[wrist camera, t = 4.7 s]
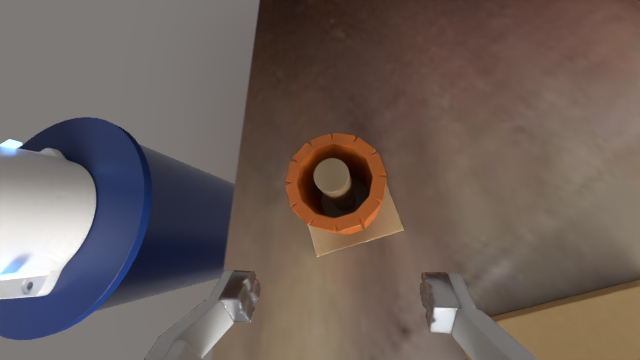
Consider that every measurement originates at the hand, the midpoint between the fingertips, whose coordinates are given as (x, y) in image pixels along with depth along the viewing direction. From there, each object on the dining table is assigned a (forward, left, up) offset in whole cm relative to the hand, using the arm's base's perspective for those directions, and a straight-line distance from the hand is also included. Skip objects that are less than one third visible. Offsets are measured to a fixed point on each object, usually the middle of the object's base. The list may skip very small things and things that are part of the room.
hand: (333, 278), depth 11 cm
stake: (+1, +5, -10) cm, 12 cm away
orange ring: (+1, +5, -9) cm, 11 cm away
